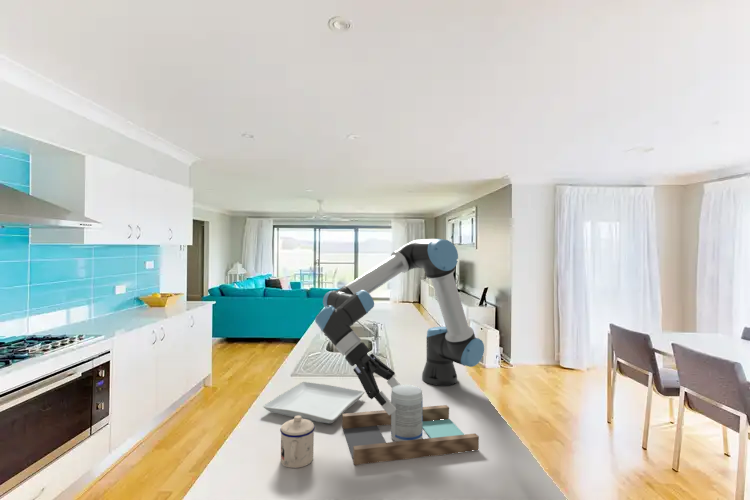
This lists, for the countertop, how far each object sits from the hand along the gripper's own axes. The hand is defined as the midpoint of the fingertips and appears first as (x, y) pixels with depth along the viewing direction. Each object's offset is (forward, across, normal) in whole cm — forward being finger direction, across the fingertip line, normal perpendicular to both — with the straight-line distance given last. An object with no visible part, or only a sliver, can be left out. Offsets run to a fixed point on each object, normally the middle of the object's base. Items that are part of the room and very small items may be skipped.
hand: (398, 403), depth 117 cm
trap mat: (+2, +6, -13) cm, 14 cm away
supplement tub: (+9, -1, -6) cm, 11 cm away
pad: (+17, -7, +2) cm, 18 cm away
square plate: (-16, -12, -31) cm, 37 cm away
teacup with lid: (-8, +22, -24) cm, 33 cm away
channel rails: (+9, -1, -6) cm, 11 cm away
